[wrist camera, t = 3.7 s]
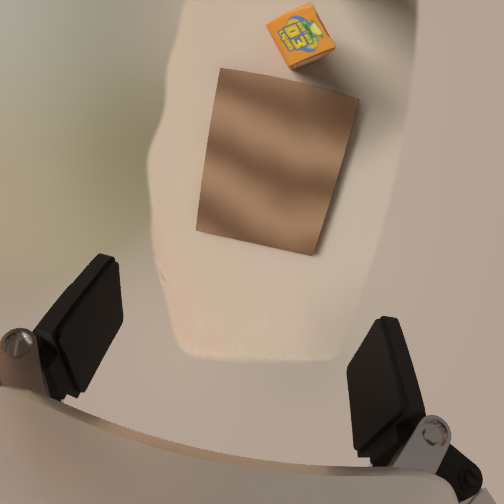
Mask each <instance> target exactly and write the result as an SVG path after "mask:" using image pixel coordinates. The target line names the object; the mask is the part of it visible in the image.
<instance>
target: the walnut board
mask: <svg viewBox="0 0 504 504" xmlns="http://www.w3.org/2000/svg"><path fill="white" fill-rule="evenodd" d="M358 102H359V99H357V98H354V97H351V96H347V95H344V94H341V93H337V92H334V91H330V90H327V89H323V88H319V87H315V86H311V85H307V84H303V83H299V82H295V81H290V80H286V79H281V78H277V77H272V76H266V75H261V74H256V73H250V72H244V71H238V70H231V69H224V68H220V73H219V78H218V84H217V89H216V95H215V100H214V106H213V112H212V118H211V124H210V130H209V136H208V143H207V149H206V156H205V163H204V170H203V177H202V184H201V192H200V200H199V208H198V216H197V224H196V231H201V232H205V233H210V234H214V235H219V236H224V237H228V238H233V239H237V240H242V241H246V242H251V243H255V244H260V245H265V246H269V247H274V248H278V249H283V250H287V251H292V252H296V253H300V254H305V255H309V256H312V255H313V252H314V249H315V246H316V243H317V240H318V237H319V234H320V231H321V228H322V225H323V222H324V219H325V216H326V213H327V210H328V207H329V203H330V200H331V197H332V194H333V190H334V187H335V184H336V181H337V177H338V174H339V171H340V167H341V164H342V160H343V157H344V153H345V150H346V146H347V143H348V139H349V136H350V132H351V129H352V125H353V121H354V117H355V114H356V110H357V106H358Z"/></svg>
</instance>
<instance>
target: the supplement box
mask: <svg viewBox="0 0 504 504" xmlns="http://www.w3.org/2000/svg"><path fill="white" fill-rule="evenodd" d="M266 26H267V29H268V30H269V32H270V34H271V36H272V38H273V40H274V42H275V43H276V45H277V47H278V49H279V51H280V52H281V54H282V56H283V58H284V60H285V61H286V63H287V65H288V67H289V68H290V69H291V70H293V69H296V68H298V67H301V66H303V65H306V64H309V63H311V62H314V61H316V60H319V59H321V58H323V57H324V56H325V55H326V54H328V53H329V52H331V51H333V50H334V49H335V47H336V46H335V44H334V42H333V41H332V39H331V38H330V36H329V34H328V33H327V31H326V29H325V27H324V25H323V23H322V22H321V20H320V18H319V16H318V14H317V12H316V10H315V8H314V6H313V4H312V3H310V2H309V3H306V4H304V5H302V6H300V7H298V8H296V9H294V10H292V11H290V12H287V13H285V14H283V15H282V16H280V17H278V18H276V19H274V20H272V21H270V22H268V23H266Z"/></svg>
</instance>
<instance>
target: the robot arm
mask: <svg viewBox="0 0 504 504" xmlns="http://www.w3.org/2000/svg"><path fill="white" fill-rule="evenodd" d="M122 322H123V309H122V298H121V287H120V275H119V264H118V263H117V262H115V258H114V257H111V256H108V255H104V254H98V255H97V256H96V257H95V258H94V259H93V260H92V261H91V262H90V263H89V265H88V266H87V267H86V268H85V269H84V270H83V272H82V273H81V274H80V275H79V276H78V277H77V278H76V280H75V281H74V282H73V283H72V284H70V285H69V286H68V287H67V289H66V290H65V291H64V292H63V294H62V295H61V296H60V297H59V298H58V300H57V301H56V302H55V303H54V304H53V306H52V307H51V308H50V309H49V311H48V312H47V313H46V314H45V316H44V317H43V318H42V320H41V321H40V322H39V324H38V325H37V326H36V328H35V329H34V330H33V331H32V332H31V331H30V330H28V329H25V328H16V329H13V330H10V331H9V332H7V333H6V334H5V335H4V336H3V337H2V339H1V341H0V504H496V503H495V501H494V500H493V498H492V497H491V495H490V494H489V492H488V491H487V489H486V488H483V489H482V488H481V486H482V481H483V478H482V473H481V471H480V469H479V468H478V467H477V466H476V465H475V464H474V463H473V462H472V461H470V460H469V459H468V458H467V457H465V456H464V455H463V454H462V453H461V452H459V451H458V450H457V449H456V448H455V447H453V446H452V445H451V444H450V441H451V431H450V428H449V426H448V424H447V423H446V422H445V421H444V420H443V419H442V418H440V417H438V416H435V415H428V416H426V414H425V407H424V403H423V400H422V396H421V392H420V388H419V385H418V381H417V378H416V375H415V371H414V367H413V364H412V361H411V358H410V355H409V351H408V348H407V345H406V342H405V339H404V335H403V332H402V329H401V327H400V324H399V321H398V319H397V318H393V317H387V316H382V317H381V318H380V319H376V320H375V322H374V323H373V325H372V327H371V329H370V330H369V332H368V334H367V335H366V337H365V339H364V340H363V342H362V344H361V346H360V347H359V349H358V350H357V352H356V354H355V355H354V357H353V359H352V360H351V361H350V363H349V365H348V367H347V381H348V391H349V400H350V409H351V410H350V411H351V421H352V432H353V446H354V449H355V450H357V453H358V457H370V462H371V464H370V465H369V467H344V466H342V467H341V466H318V465H304V464H293V463H283V462H274V461H266V460H259V459H252V458H246V457H240V456H234V455H229V454H223V453H218V452H213V451H209V450H204V449H200V448H195V447H191V446H187V445H183V444H179V443H175V442H172V441H168V440H164V439H161V438H157V437H154V436H151V435H147V434H144V433H141V432H138V431H134V430H131V429H129V428H126V427H123V426H120V425H117V424H115V423H112V422H109V421H106V420H104V419H101V418H98V417H96V416H93V415H90V414H88V413H85V412H83V411H81V410H78V409H76V408H74V407H71V406H69V405H67V404H64V401H63V399H64V398H65V396H66V395H67V394H68V395H71V396H73V397H75V398H78V396H79V394H80V392H85V391H86V389H87V387H88V385H89V383H90V381H91V380H92V378H93V376H94V374H95V372H96V370H97V368H98V366H99V365H100V362H101V361H102V359H103V357H104V355H105V353H106V351H107V350H108V348H109V346H110V344H111V343H112V341H113V339H114V337H115V335H116V334H117V332H118V330H119V329H120V327H121V325H122Z"/></svg>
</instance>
